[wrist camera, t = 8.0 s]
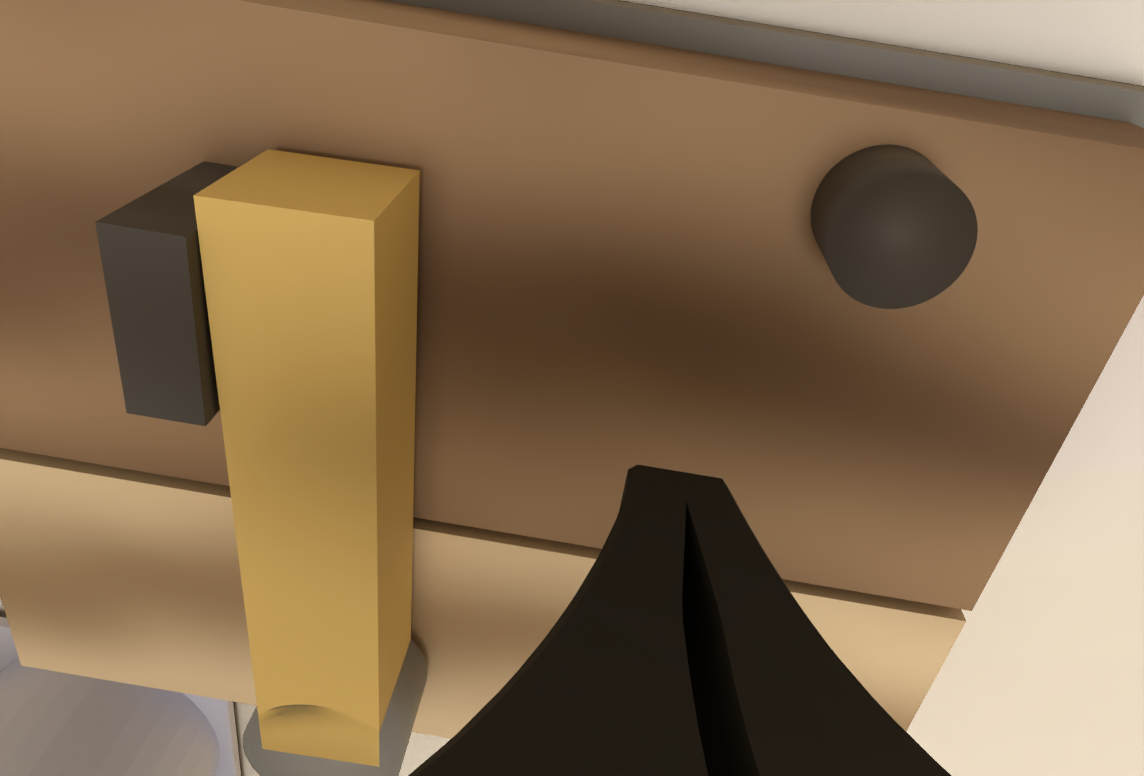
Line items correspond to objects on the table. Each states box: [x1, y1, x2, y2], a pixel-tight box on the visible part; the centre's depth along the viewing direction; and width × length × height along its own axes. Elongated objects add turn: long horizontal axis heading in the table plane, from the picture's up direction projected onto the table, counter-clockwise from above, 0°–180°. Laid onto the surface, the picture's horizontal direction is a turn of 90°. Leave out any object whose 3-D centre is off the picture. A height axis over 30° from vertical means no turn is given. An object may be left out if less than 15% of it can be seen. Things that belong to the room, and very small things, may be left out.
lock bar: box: [193, 149, 428, 776], centre depth 15 cm, size 13×3×2 cm, turn 174°
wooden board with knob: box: [0, 0, 1144, 738], centre depth 16 cm, size 17×22×6 cm
